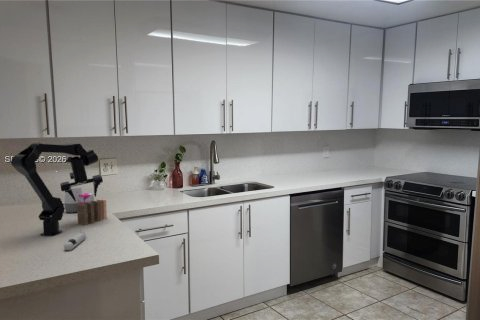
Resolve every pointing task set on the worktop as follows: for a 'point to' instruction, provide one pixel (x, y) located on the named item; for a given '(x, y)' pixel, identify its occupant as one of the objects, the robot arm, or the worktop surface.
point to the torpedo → (74, 240)
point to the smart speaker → (69, 202)
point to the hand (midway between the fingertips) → (85, 199)
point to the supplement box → (86, 198)
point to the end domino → (103, 208)
